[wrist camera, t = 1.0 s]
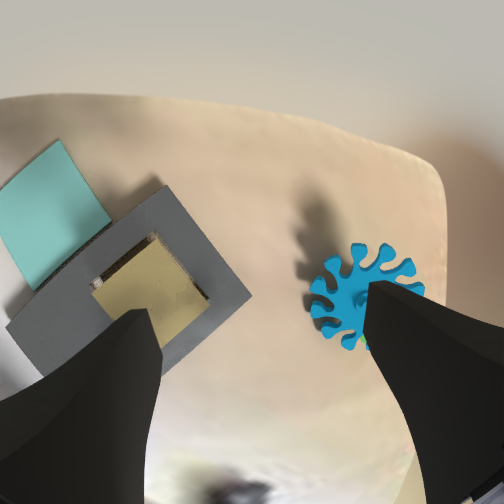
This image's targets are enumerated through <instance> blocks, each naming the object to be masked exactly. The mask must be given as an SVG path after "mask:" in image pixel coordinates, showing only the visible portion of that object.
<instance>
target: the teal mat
mask: <svg viewBox="0 0 504 504" xmlns="http://www.w3.org/2000/svg"><path fill="white" fill-rule="evenodd" d="M111 222H112V220H111V219H110V217H109V216H108V214H107V213H106V212H105V210H104V209H103V207H102V206H101V204H100V203H99V201H98V200H97V198H96V197H95V195H94V194H93V192H92V191H91V189H90V188H89V186H88V185H87V183H86V182H85V180H84V179H83V177H82V176H81V174H80V172H79V171H78V169H77V168H76V166H75V164H74V163H73V161H72V159H71V158H70V156H69V155H68V153H67V151H66V149H65V148H64V146H63V144H62V143H61V141H60V140H58V141H57V142H56V143H54V144H53V145H52V146H51V147H49V148H48V149H47V150H46V151H44V152H43V153H42V154H41V155H39V156H38V157H37V158H36V159H35V160H33V161H32V162H31V163H30V164H29V165H28V166H26V167H25V168H24V169H23V170H22V171H21V172H20V173H19V174H17V175H16V176H15V177H14V178H13V179H12V180H11V181H10V182H9V183H8V184H7V185H6V186H5V187H4V188H3V189H2V190H1V191H0V236H1V238H2V240H3V242H4V244H5V246H6V248H7V249H8V251H9V253H10V255H11V257H12V258H13V260H14V262H15V263H16V265H17V267H18V268H19V270H20V272H21V273H22V275H23V276H24V278H25V280H26V281H27V283H28V284H29V286H30V287H31V289H32V290H33V291H35V290H36V289H37V288H38V287H39V286H40V285H41V284H42V283H43V282H44V281H45V280H46V279H47V278H48V277H49V276H50V275H52V274H53V273H54V272H55V271H56V270H57V269H58V268H59V267H60V266H61V265H62V264H63V263H64V262H65V261H67V260H68V259H69V258H70V257H71V256H72V255H73V254H74V253H75V252H77V251H78V250H79V249H80V248H81V247H82V246H83V245H85V244H86V243H87V242H88V241H89V240H90V239H92V238H93V237H94V236H95V235H96V234H97V233H99V232H100V231H101V230H102V229H103V228H105V227H106V226H107V225H108V224H110V223H111Z"/></svg>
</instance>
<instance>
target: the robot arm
mask: <svg viewBox="0 0 504 504" xmlns="http://www.w3.org/2000/svg"><path fill="white" fill-rule="evenodd" d="M362 332H363V334H364V337H365V340H366V342H367V345H368V347H369V350H370V352H371V355H372V357H373V358H374V360H375V362H376V364H377V366H378V367H379V369H380V371H381V373H382V375H383V376H384V378H385V380H386V382H387V383H388V385H389V387H390V389H391V391H392V392H393V394H394V396H395V398H396V400H397V402H398V403H399V405H400V408H401V410H402V412H403V414H404V417H405V419H406V422H407V425H408V427H409V430H410V433H411V436H412V439H413V442H414V446H415V449H416V452H417V456H418V459H419V464H420V467H421V472H422V477H423V481H424V488H425V495H426V502H427V504H463V503H465V502H466V501H468V500H469V499H471V498H472V500H473V503H472V504H504V328H502V327H498V326H495V325H491V324H488V323H485V322H482V321H479V320H476V319H473V318H471V317H468V316H466V315H463V314H461V313H458V312H456V311H454V310H451V309H449V308H447V307H444V306H442V305H440V304H438V303H436V302H434V301H431V300H429V299H427V298H425V297H423V296H421V295H419V294H417V293H415V292H413V291H410V290H408V289H406V288H404V287H402V286H400V285H397V284H395V283H393V282H390V281H387V280H381V281H375V282H369V286H368V295H367V303H366V311H365V318H364V325H363V331H362ZM162 363H163V354H162V351H161V348H160V346H159V343H158V340H157V337H156V334H155V331H154V328H153V326H152V323H151V319H150V316H149V313H148V310H147V308H143V309H130V310H129V311H127V312H126V313H124V314H123V315H122V316H120V317H119V318H118V319H117V320H116V321H114V322H113V323H112V324H111V325H110V326H109V327H107V328H106V329H105V330H104V331H103V332H102V333H100V334H99V335H98V336H97V337H96V338H95V339H93V340H92V341H91V342H90V343H89V344H88V345H86V346H85V347H84V348H83V349H81V350H80V351H79V352H78V353H76V354H75V355H74V356H73V357H72V358H70V359H69V360H68V361H67V362H65V363H64V364H63V365H61V366H60V367H59V368H57V369H56V370H54V371H53V372H51V373H50V374H48V375H47V376H45V377H44V378H42V379H41V380H39V381H38V382H36V383H34V384H32V385H31V386H29V387H27V388H25V389H24V390H22V391H20V392H18V393H16V394H15V395H13V396H11V397H8V398H6V399H4V400H2V401H0V504H144V467H145V453H146V444H147V438H148V433H149V428H150V424H151V420H152V415H153V411H154V407H155V403H156V398H157V394H158V390H159V386H160V381H161V373H162Z"/></svg>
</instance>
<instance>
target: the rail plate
mask: <svg viewBox="0 0 504 504" xmlns="http://www.w3.org/2000/svg"><path fill="white" fill-rule="evenodd" d="M153 232H155V234H156V235H157V236H158V238H159V239H160V240H161V241H162V243H163V244H164V245H165V247H166V248H167V249H168V251H169V252H170V253H171V254H172V256H173V257H174V258H175V260H176V261H177V262H178V263H179V265H180V266H181V267H182V268H183V270H184V271H185V272H186V273H187V275H188V276H189V277H190V278H191V280H192V281H193V282H194V283H195V284H196V286H197V287H198V288H199V289H200V291H201V292H202V293H203V294H204V295H205V296H204V298H205V299H206V301H207V302H208V303H209V304H210V306H209V307H208V308H207V309H206V310H205V311H203V312H202V313H201V314H200V315H199V316H198V317H197V318H195V319H194V320H193V321H192V322H191V323H190V324H189V325H187V326H186V327H185V328H184V329H183V330H182V331H181V332H179V333H178V334H177V335H176V336H175V337H174V338H173V339H171V340H170V341H169V342H168V343H167V344H166V345H164V346H163V347H162V348H161V351H162V354H163V363H162V373H161V377H162V376H163V375H164V374H165V373H166V372H168V371H169V370H170V369H171V368H172V367H173V366H175V365H176V364H177V363H178V362H179V361H180V360H182V359H183V358H184V357H185V356H186V355H187V354H188V353H190V352H191V351H192V350H193V349H194V348H195V347H196V346H198V345H199V344H200V343H201V342H202V341H203V340H204V339H205V338H207V337H208V336H209V335H210V334H211V333H212V332H213V331H214V330H216V329H217V328H218V327H219V326H220V325H221V324H222V323H223V322H224V321H226V320H227V319H228V318H229V317H230V316H231V315H232V314H233V313H234V312H236V311H237V310H238V309H239V308H240V307H241V306H242V305H243V304H244V303H245V302H246V301H248V300H249V299H250V298H251V297H252V295H251V294H250V292H249V291H248V290H247V288H246V287H245V286H244V285H243V283H242V282H241V281H240V280H239V278H238V277H237V276H236V275H235V273H234V272H233V271H232V269H231V268H230V267H229V266H228V264H227V263H226V262H225V260H224V259H223V258H222V257H221V255H220V254H219V253H218V251H217V250H216V249H215V248H214V246H213V245H212V244H211V242H210V241H209V240H208V238H207V237H206V236H205V235H204V233H203V232H202V231H201V229H200V228H199V227H198V225H197V224H196V223H195V221H194V220H193V219H192V217H191V216H190V215H189V214H188V212H187V211H186V210H185V208H184V207H183V206H182V204H181V203H180V202H179V200H178V199H177V198H176V196H175V195H174V194H173V192H172V191H171V190H170V188H169V187H168V185H165V186H164V187H163V188H161V189H160V190H158V191H157V192H156V193H154V194H153V195H152V196H150V197H149V198H148V199H146V200H145V201H144V202H142V203H141V204H140V205H138V206H137V207H136V208H134V209H133V210H132V211H130V212H129V213H128V214H127V215H125V216H124V217H123V218H121V219H120V220H119V221H118V222H116V223H115V224H114V225H113V226H111V227H110V228H109V229H108V230H107V231H105V232H104V233H103V234H102V235H101V236H99V237H98V238H97V239H96V240H95V241H93V242H92V243H91V244H90V245H89V246H88V247H86V248H85V249H84V250H83V251H82V252H81V253H80V254H78V255H77V256H76V257H75V258H74V259H73V260H72V261H71V262H70V263H68V264H67V265H66V266H65V267H64V268H63V269H62V270H61V271H60V272H59V273H58V274H57V275H56V276H54V277H53V278H52V279H51V280H50V281H49V282H48V283H47V284H46V285H45V286H44V287H43V288H42V289H41V290H40V291H39V292H38V293H37V294H36V295H35V296H34V297H33V298H32V299H31V300H30V301H29V302H28V303H27V304H26V305H25V306H24V308H23V309H22V310H21V311H20V312H19V313H18V314H17V315H16V316H15V317H14V318H13V319H12V320H11V322H10V323H9V324H8V325H7V326H6V327H5V328H6V329H7V331H8V332H9V334H10V335H11V336H12V338H13V339H14V340H15V342H16V343H17V345H18V346H19V347H20V348H21V350H22V351H23V352H24V354H25V355H26V356H27V357H28V359H29V360H30V361H31V362H32V364H33V365H34V366H35V367H36V368H37V370H38V371H39V372H40V373H41V374H42V375H43V376H44V377H45V376H47V375H48V374H50V373H51V372H53V371H54V370H56V369H57V368H59V367H60V366H61V365H63V364H64V363H65V362H67V361H68V360H69V359H70V358H72V357H73V356H74V355H75V354H76V353H78V352H79V351H80V350H81V349H83V348H84V347H85V346H86V345H88V344H89V343H90V342H91V341H92V340H93V339H95V338H96V337H97V336H98V335H99V334H100V333H102V332H103V331H104V330H105V329H106V328H107V327H109V326H110V325H111V324H112V323H113V322H114V321H113V320H112V319H111V317H110V316H109V315H108V314H107V313H106V311H105V310H104V309H103V308H102V306H101V305H100V304H99V303H98V301H97V300H96V299H95V298H94V296H93V295H92V293H93V292H94V291H95V289H94V287H93V286H92V285H91V284H92V283H93V282H94V281H96V280H97V279H98V278H99V277H100V276H101V275H102V274H103V273H105V272H106V271H107V270H108V269H109V268H110V267H112V266H113V265H114V264H115V263H116V262H117V261H119V260H120V259H121V258H122V257H123V256H125V255H126V254H127V253H128V252H129V251H131V250H132V249H133V248H134V247H136V246H137V245H138V244H139V243H140V242H142V241H143V240H144V239H145V238H147V237H148V236H149V235H150V234H152V233H153Z"/></svg>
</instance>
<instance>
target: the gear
mask: <svg viewBox="0 0 504 504" xmlns="http://www.w3.org/2000/svg"><path fill="white" fill-rule="evenodd" d="M367 252H368V251H367V246H366V245H365V244H362V243H353V244H352V245H351V255H352V257H353V260H354V264H353V267H352V270H351V272H350V274H348V275H342V274H341V273H340V271H339V270H340V267H341V258H340V256H339V255H338V254H337V255H333V256H330V257H329V258H327V259H325V268H326V269H327V270H328V271H329V272H331V273H332V274H333V275H334V277H335V279H336V281H337V285H338V288H337V289H335V290H330V289H328V287H327V285H326V281H325V279H324V278H323V277H322V276H317V277H316V278H315V279H314V280H313V282H312V284H311V286H310V291H311V292H312V293H314V294H320V295H323V296H325V297H327V298H328V299H329V300H331V301H332V303H333V304H334V306H333V307H331V308H328V307H326V306H325V305H324V304H323V303H322V302H320V301H313V303H312V306H311V311H310V314H311V317H312V318H320V317H324V316H330V317H334V318H338V319H340V320H341V322H340V323H332V322H324V323H323V324H322V327H321V332H322V334H323V336H324V337H325V338H326V339H329V338H332V337H333V336H334V335H335V334H336V333H338V332H340V331H342V330H347V329H353V330H355V332H354V333H352V334H346V335H344V336H343V337H342V339H341V345H342V346H343V347H344V348H345V349H347V350H352V349H354V347H355V344H356V342H357V340H358V339H359V338H360V337H361V341H362V342H363V343H366V349H367V350H369V347H368V345H367V342H366V340H365V337H364V334H363V332H362V331H363V325H364V318H365V311H366V303H367V295H368V286H369V282H375V281H381V280H387V281H390V282H393V283H395V284H397V285H400V286H402V287H404V288H406V289H408V290H410V291H413V292H415V293H417V294H419V295H421V296H424V290H425V287H424V285H423V283H421V282H415V283H413V284H408V285H405V284H400V283H397V282H395V279H396V277H397V276H399V275H404V276H407V277H412V276H414V275H415V274H416V268H415V265H414V263H413V262H412V260H411V258H406V259H404V260H403V261H402V263H401V264H400V265H399V266H397V267H396V268H394V269H391V270H386V271H383V270H381V269H380V266H381V264H382V263H384V262H389V261H392V260H393V259H394V258H395V256H396V252H395V250H394V249H393V248H392V247H391V246H389V245H388V244H386V243H383V244H382V245H381V246H380V248H379V253H378V256H377V258H376V260H375V261H374V262H373V263H372V264H371V265H370V266H368V267H367V268H362V267H361V266H360V265H359V263H360V261H361V260H363V259H364V258H365V257H366V255H367Z"/></svg>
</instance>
